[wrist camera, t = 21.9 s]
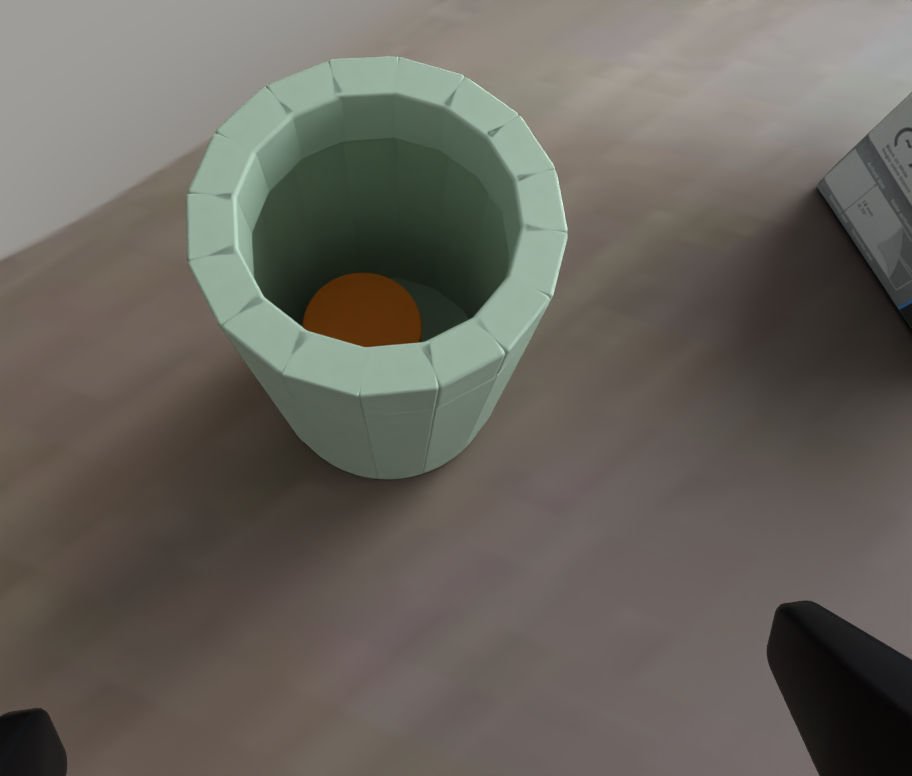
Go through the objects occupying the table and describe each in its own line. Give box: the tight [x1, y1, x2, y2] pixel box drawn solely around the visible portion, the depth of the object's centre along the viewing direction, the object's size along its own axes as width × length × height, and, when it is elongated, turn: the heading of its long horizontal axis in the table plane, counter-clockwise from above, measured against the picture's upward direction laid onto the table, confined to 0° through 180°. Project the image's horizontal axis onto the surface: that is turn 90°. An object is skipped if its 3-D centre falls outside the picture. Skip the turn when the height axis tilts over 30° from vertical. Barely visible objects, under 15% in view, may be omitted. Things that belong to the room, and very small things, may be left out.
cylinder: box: [302, 272, 422, 347], centre depth 20 cm, size 3×3×4 cm
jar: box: [186, 56, 568, 479], centre depth 18 cm, size 7×7×10 cm
